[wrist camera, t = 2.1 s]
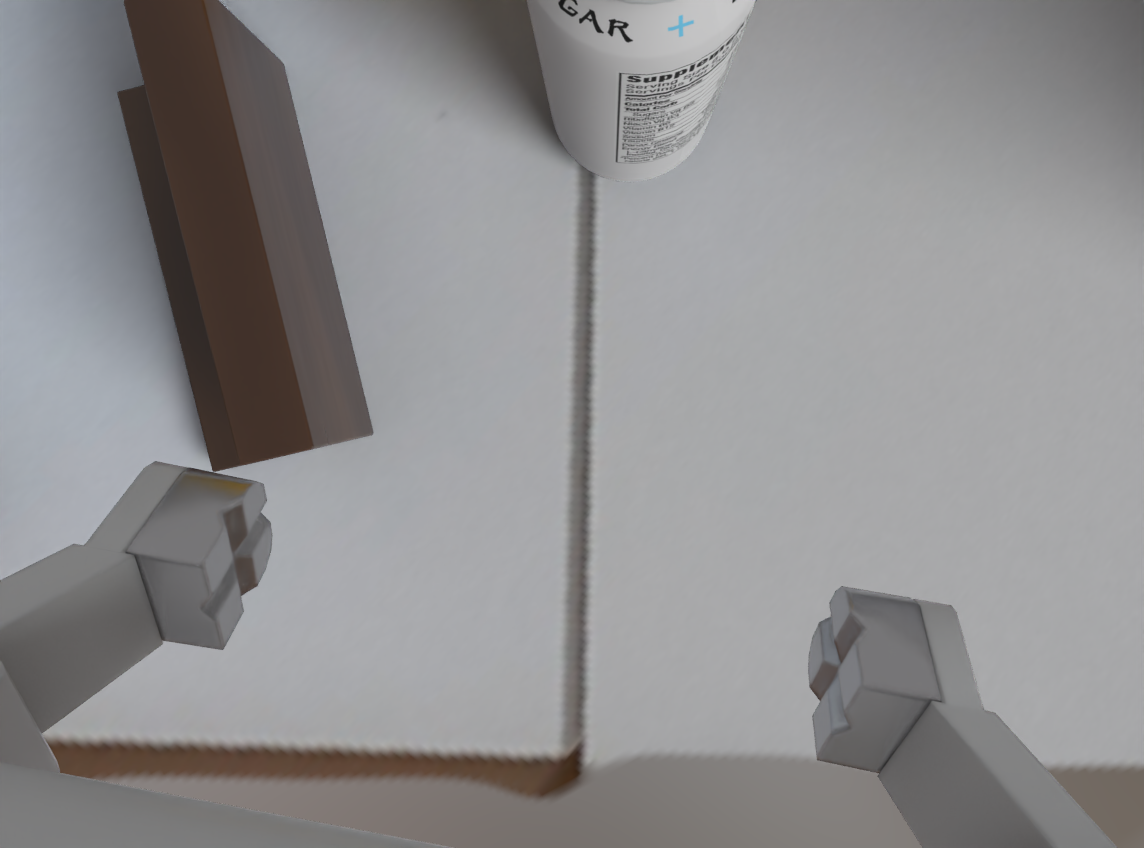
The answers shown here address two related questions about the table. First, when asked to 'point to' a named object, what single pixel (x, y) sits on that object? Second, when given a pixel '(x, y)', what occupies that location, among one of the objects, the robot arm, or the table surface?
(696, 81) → the energy drink can
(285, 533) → the table surface
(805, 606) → the table surface
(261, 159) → the walnut wall
